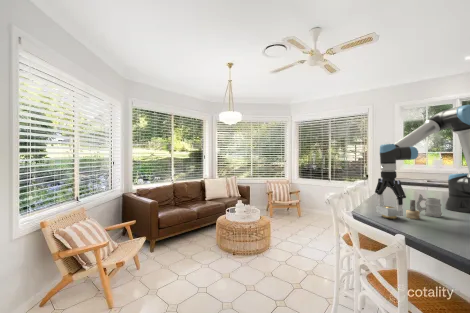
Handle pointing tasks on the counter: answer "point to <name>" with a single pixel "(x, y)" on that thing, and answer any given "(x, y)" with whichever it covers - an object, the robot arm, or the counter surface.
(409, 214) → the stand
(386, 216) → the hub
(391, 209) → the grey square block
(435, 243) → the counter surface
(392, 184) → the robot arm
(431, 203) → the mug
